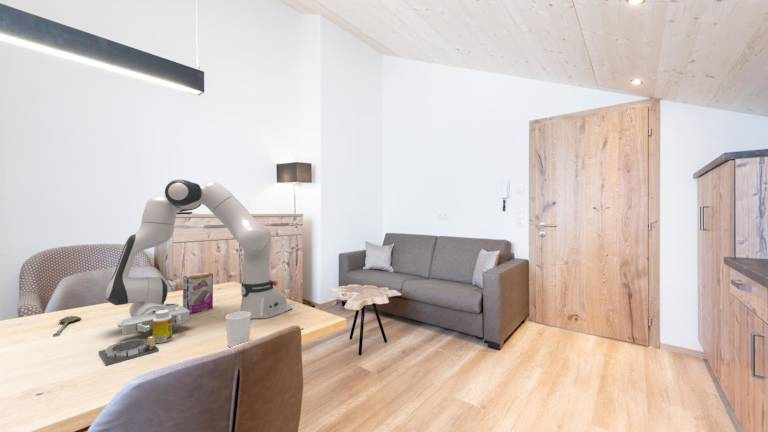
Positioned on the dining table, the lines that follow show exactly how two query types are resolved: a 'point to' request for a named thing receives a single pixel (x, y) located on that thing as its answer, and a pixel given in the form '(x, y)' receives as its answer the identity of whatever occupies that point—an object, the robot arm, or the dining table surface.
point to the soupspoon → (66, 320)
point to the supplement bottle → (162, 326)
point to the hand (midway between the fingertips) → (163, 325)
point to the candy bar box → (198, 292)
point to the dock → (128, 350)
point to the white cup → (238, 328)
